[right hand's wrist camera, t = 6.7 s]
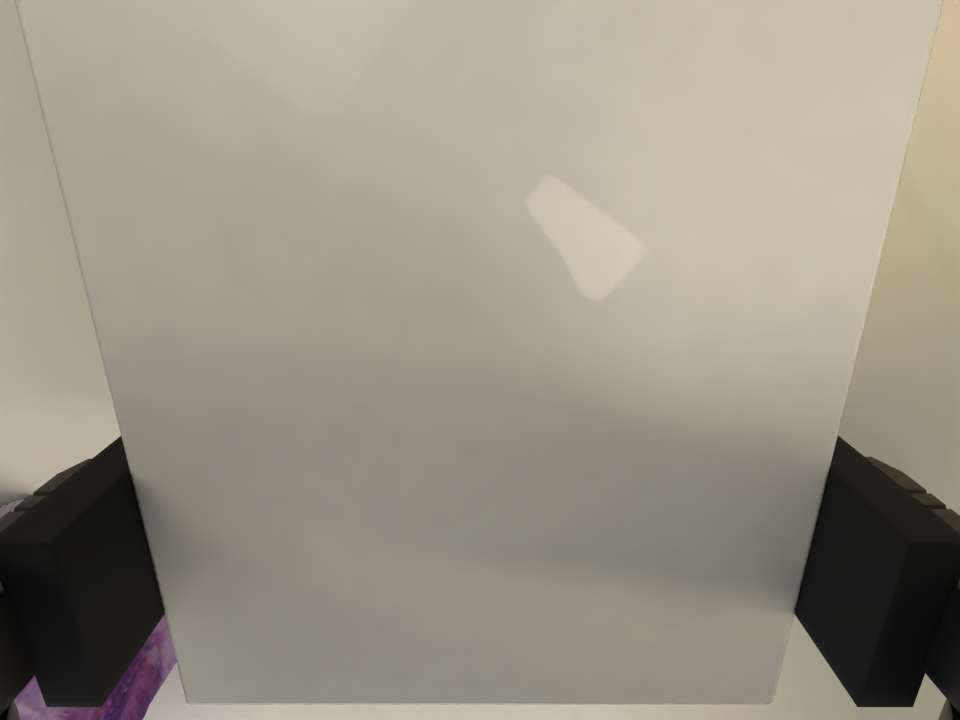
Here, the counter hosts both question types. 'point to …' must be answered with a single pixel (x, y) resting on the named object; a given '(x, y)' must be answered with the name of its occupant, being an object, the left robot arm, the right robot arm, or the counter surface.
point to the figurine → (129, 695)
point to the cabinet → (479, 325)
